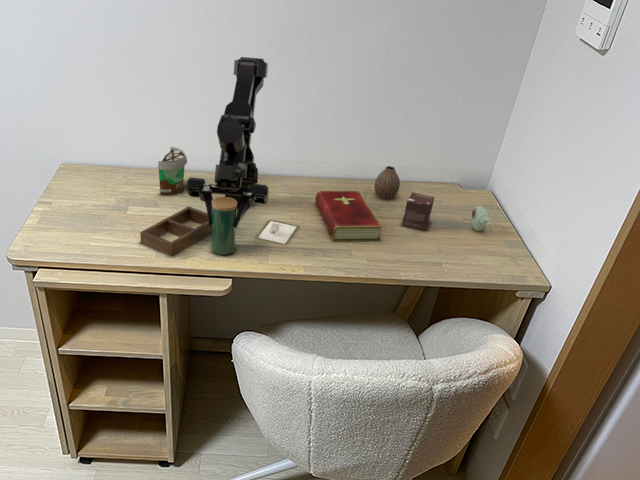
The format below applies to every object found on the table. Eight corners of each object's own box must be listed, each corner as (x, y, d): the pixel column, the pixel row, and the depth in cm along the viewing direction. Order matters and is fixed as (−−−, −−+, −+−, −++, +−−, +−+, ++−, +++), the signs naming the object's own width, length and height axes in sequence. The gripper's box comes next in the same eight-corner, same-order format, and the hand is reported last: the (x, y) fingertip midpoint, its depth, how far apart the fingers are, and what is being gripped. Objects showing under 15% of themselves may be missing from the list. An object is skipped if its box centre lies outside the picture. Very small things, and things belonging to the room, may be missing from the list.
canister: (217, 240, 148) (219, 194, 141) (239, 246, 146) (241, 200, 139) (206, 250, 143) (207, 204, 137) (228, 257, 141) (230, 210, 135)
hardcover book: (332, 241, 151) (334, 225, 149) (314, 203, 168) (316, 189, 166) (379, 240, 152) (382, 225, 150) (357, 203, 170) (359, 189, 167)
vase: (400, 195, 176) (406, 167, 171) (391, 204, 171) (398, 174, 166) (377, 189, 178) (383, 161, 173) (368, 197, 174) (374, 168, 169)
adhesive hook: (268, 234, 152) (269, 223, 151) (271, 230, 154) (272, 219, 153) (279, 237, 151) (280, 226, 150) (282, 232, 154) (284, 221, 152)
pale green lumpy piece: (487, 238, 156) (495, 214, 153) (471, 236, 157) (478, 213, 153) (479, 223, 163) (486, 200, 159) (464, 222, 163) (471, 199, 159)
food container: (180, 199, 167) (180, 164, 161) (158, 196, 167) (157, 161, 162) (192, 182, 177) (192, 148, 171) (171, 179, 177) (171, 146, 172)
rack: (188, 216, 158) (188, 206, 157) (218, 228, 154) (218, 217, 152) (140, 243, 146) (140, 232, 144) (171, 256, 141) (171, 244, 140)
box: (429, 222, 162) (435, 196, 158) (424, 231, 158) (431, 205, 154) (406, 216, 164) (411, 191, 160) (401, 226, 160) (407, 200, 156)
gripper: (187, 143, 135) (176, 210, 133) (271, 151, 134) (262, 219, 131) (194, 163, 146) (184, 226, 144) (271, 171, 145) (263, 234, 142)
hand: (222, 226), depth 140 cm, fingers closed on canister, 5 cm apart
